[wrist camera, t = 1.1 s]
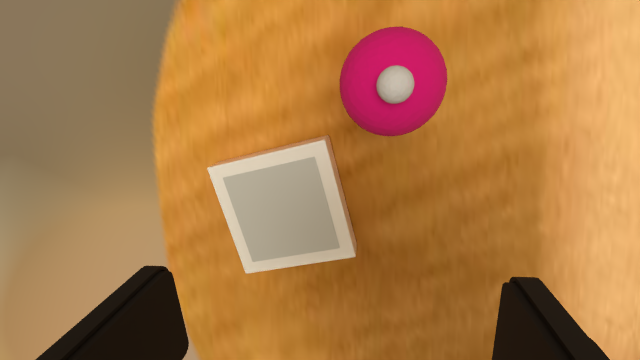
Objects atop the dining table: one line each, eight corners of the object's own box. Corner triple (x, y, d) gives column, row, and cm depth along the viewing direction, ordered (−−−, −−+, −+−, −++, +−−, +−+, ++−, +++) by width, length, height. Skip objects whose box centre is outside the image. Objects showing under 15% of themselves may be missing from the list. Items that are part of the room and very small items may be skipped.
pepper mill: (334, 85, 34) (287, 91, 15) (382, 29, 32) (397, -46, 13) (383, 131, 35) (395, 191, 16) (434, 79, 32) (518, 77, 14)
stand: (328, 134, 36) (324, 139, 33) (356, 244, 39) (355, 257, 36) (219, 161, 39) (206, 168, 36) (254, 260, 42) (245, 274, 39)
